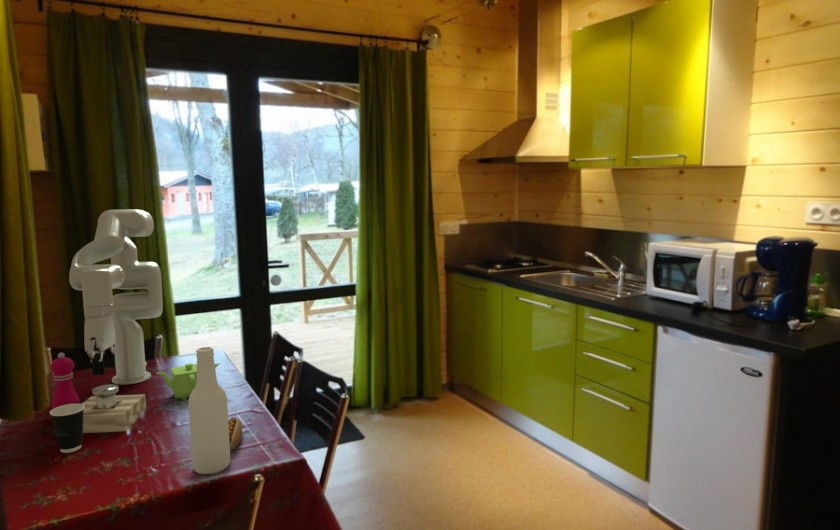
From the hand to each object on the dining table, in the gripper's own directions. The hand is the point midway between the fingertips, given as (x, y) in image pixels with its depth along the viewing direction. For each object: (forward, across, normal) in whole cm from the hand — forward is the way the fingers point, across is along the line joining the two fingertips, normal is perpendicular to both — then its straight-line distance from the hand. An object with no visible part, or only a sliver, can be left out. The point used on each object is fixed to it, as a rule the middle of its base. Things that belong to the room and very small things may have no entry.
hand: (104, 370), depth 169 cm
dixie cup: (+16, +18, -2) cm, 24 cm away
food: (+16, +19, +40) cm, 47 cm away
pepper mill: (+16, -5, -14) cm, 22 cm away
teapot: (+16, -20, +18) cm, 31 cm away
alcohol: (+16, +33, +38) cm, 53 cm away
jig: (+16, 0, 0) cm, 16 cm away
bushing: (+16, 0, 0) cm, 16 cm away
